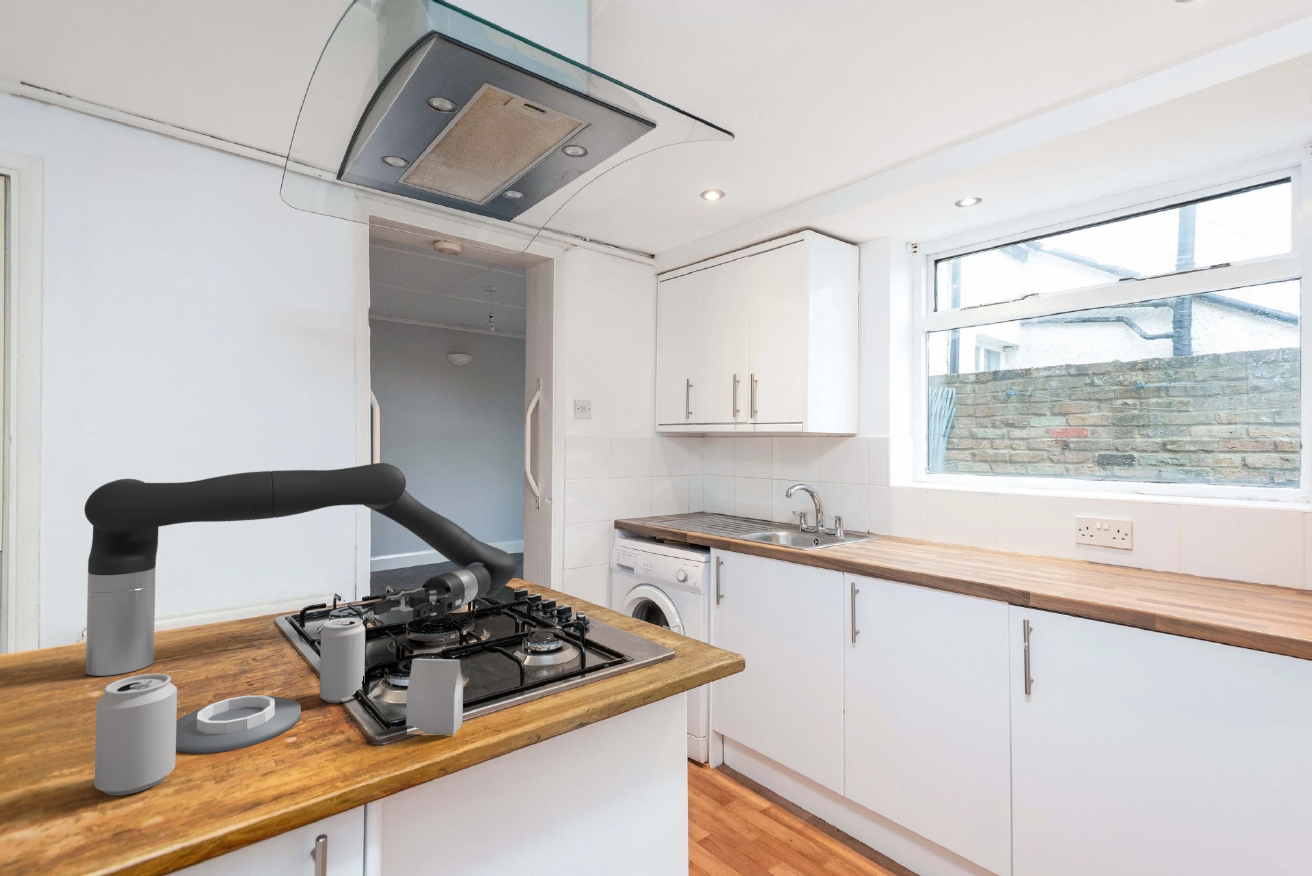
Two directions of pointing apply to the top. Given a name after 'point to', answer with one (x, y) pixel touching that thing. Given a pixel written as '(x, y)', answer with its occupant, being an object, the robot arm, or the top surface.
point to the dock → (235, 723)
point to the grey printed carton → (435, 696)
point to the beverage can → (341, 658)
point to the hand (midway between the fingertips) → (394, 611)
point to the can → (135, 734)
